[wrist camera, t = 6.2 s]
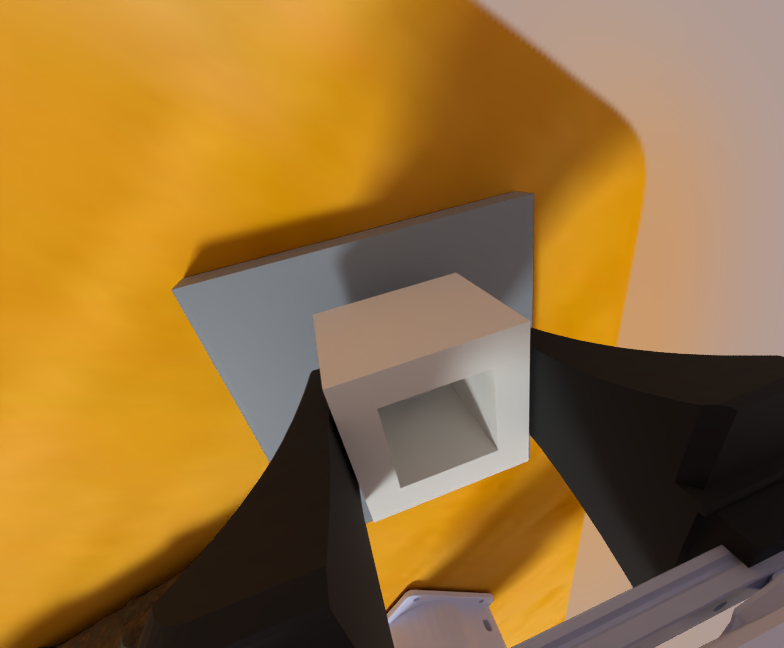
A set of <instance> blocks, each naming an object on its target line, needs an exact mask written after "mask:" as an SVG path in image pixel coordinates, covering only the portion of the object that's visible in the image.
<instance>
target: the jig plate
mask: <svg viewBox="0 0 784 648" xmlns="http://www.w3.org/2000/svg"><path fill="white" fill-rule="evenodd" d="M533 239H534V193H527V192H518V191H514V192H510V193H506V194H503V195H499V196H495V197H491V198H487V199H483V200H480V201H476V202H472V203H468V204H464V205H461V206H457V207H453V208H449V209H445V210H441V211H438V212H434V213H430V214H426V215H422V216H419V217H415V218H411V219H407V220H403V221H400V222H396V223H392V224H388V225H384V226H380V227H377V228H373V229H369V230H365V231H361V232H358V233H354V234H350V235H346V236H342V237H339V238H335V239H331V240H327V241H323V242H319V243H316V244H312V245H308V246H304V247H300V248H297V249H293V250H289V251H285V252H281V253H278V254H274V255H270V256H266V257H262V258H258V259H255V260H251V261H247V262H243V263H239V264H236V265H232V266H228V267H224V268H220V269H216V270H213V271H209V272H205V273H201V274H197V275H194V276H190V277H186V278H183V279H182V280H181V281H180V282H179V283H178V284H177V285H176V286H175V287H174V288H173V289H172V292H173V293H174V295H175V297H176V299H177V300H178V302H179V304H180V306H181V307H182V309H183V311H184V313H185V314H186V316H187V318H188V320H189V321H190V323H191V325H192V327H193V328H194V330H195V332H196V334H197V335H198V337H199V339H200V341H201V342H202V344H203V346H204V348H205V350H206V351H207V353H208V355H209V357H210V358H211V360H212V362H213V364H214V365H215V367H216V369H217V371H218V372H219V374H220V376H221V378H222V379H223V381H224V383H225V385H226V386H227V388H228V390H229V392H230V393H231V395H232V397H233V399H234V400H235V402H236V404H237V406H238V407H239V409H240V411H241V413H242V414H243V416H244V418H245V420H246V421H247V423H248V425H249V427H250V428H251V430H252V432H253V434H254V435H255V437H256V439H257V441H258V443H259V444H260V446H261V448H262V450H263V451H264V453H265V455H266V457H267V458H268V460H269V462H271V460H272V458H273V457H274V455H275V453H276V451H277V450H278V448H279V446H280V444H281V442H282V440H283V438H284V436H285V434H286V432H287V430H288V428H289V426H290V424H291V422H292V420H293V418H294V415H295V413H296V411H297V408H298V406H299V403H300V401H301V399H302V396H303V393H304V390H305V388H306V385H307V382H308V378H309V375H310V373H311V372H312V371H313V370H316V369H320V367H319V359H318V352H317V344H316V336H315V328H314V321H313V314H317V313H320V312H324V311H327V310H330V309H334V308H337V307H341V306H344V305H347V304H351V303H354V302H358V301H361V300H364V299H368V298H371V297H375V296H378V295H381V294H385V293H388V292H392V291H395V290H398V289H402V288H405V287H409V286H412V285H415V284H419V283H422V282H426V281H429V280H432V279H436V278H439V277H442V276H446V275H449V274H453V273H458V274H459V275H461V276H462V277H464V278H465V279H467V280H468V281H470V282H471V283H473V284H474V285H476V286H478V287H479V288H481V289H482V290H484V291H485V292H487V293H488V294H490V295H491V296H493V297H494V298H496V299H497V300H499V301H500V302H502V303H503V304H505V305H506V306H508V307H510V308H511V309H513V310H514V311H516V312H517V313H519V314H520V315H522V316H523V317H525V318H526V319H528V320H529V321H530V328H532V300H533ZM430 391H431V390H430ZM430 391H427V392H424V393H421V394H418V395H415V396H412V397H409V398H407V399H406V400H411V399H417V398H420V397H422V396H424V395H426V394H427V393H429V392H430ZM529 458H530V434H529ZM359 486H360V485H359ZM360 494H361V502H362V508H363V514H364V519H365V523H368V522H371V521H373V519H372V516H371V514H370V511H369V508H368V506H367V503H366V501H365V498H364V496H363V493H362V490H361V488H360Z"/></svg>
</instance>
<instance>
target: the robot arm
mask: <svg viewBox="0 0 784 648" xmlns="http://www.w3.org/2000/svg"><path fill="white" fill-rule="evenodd" d="M529 434H530V435H531V437H532V438H533V439H534V440H535V441H536V443H537V444H538V445H539V446H540V448H541V449H542V450H543V452H544V453H545V454H546V456H547V457H548V458H549V460H550V461H551V463H552V464H553V465H554V467H555V468H556V469H557V471H558V472H559V473H560V475H561V476H562V478H563V479H564V481H565V482H566V484H567V485H568V486H569V488H570V489H571V491H572V492H573V494H574V495H575V497H576V498H577V499H578V501H579V502H580V504H581V505H582V507H583V508H584V510H585V512H586V513H587V515H588V516H589V517H590V519H591V521H592V522H593V524H594V525H595V527H596V528H597V530H598V531H599V533H600V534H601V536H602V537H603V539H604V541H605V542H606V544H607V546H608V547H609V549H610V550H611V552H612V553H613V555H614V557H615V558H616V560H617V562H618V563H619V565H620V566H621V568H622V570H623V571H624V573H625V575H626V576H627V578H628V580H629V581H630V583H631V585H632V586H633V588H632V589H630V590H628V591H626V592H624V593H622V594H620V595H618V596H616V597H613V598H612V599H609V600H607V601H606V602H603V603H601V604H599V605H597V606H595V607H593V608H591V609H589V610H587V611H585V612H583V613H581V614H579V615H577V616H575V617H573V618H571V619H569V620H567V621H564V622H562V623H560V624H558V625H556V626H554V627H552V628H550V629H548V630H546V631H544V632H542V633H540V634H538V635H536V636H534V637H532V638H530V639H528V640H526V641H524V642H522V643H520V644H518V645H515V646H513V647H511V648H655V647H656V646H658V645H660V644H662V643H664V642H666V641H668V640H670V639H672V638H673V637H675V636H677V635H679V634H681V633H683V632H685V631H687V630H688V629H690V628H692V627H694V626H696V625H698V624H700V623H702V622H704V621H706V620H708V619H709V618H711V617H713V616H715V615H717V614H719V613H721V612H723V611H725V610H726V609H728V608H730V607H732V606H734V605H736V604H738V603H740V602H742V601H744V600H745V599H747V598H748V599H747V600H746V601H744V602H743V603H742V604H740V605H739V606H738V607H736V608H735V609H734V612H733V615H732V618H731V621H730V623H729V624H728V626H727V627H726V628H725V630H724V631H723V633H722V634H721V636H720V637H719V638H717V639H715V640H713V641H711V642H709V643H707V644H705V645H703V646H701V647H699V648H784V357H782V356H720V355H719V356H717V355H696V354H694V355H693V354H677V353H664V352H653V351H644V350H634V349H626V348H620V347H613V346H607V345H602V344H596V343H590V342H585V341H580V340H576V339H572V338H568V337H563V336H559V335H555V334H552V333H548V332H544V331H541V330H537V329H534V328H530V384H529ZM749 597H750V598H749ZM493 601H494V598H493V596H492V594H490V593H473V592H453V591H433V590H409V591H407V592H406V593H405V594H404V595H403V596H402V597H401V598H400V600H399V601H398V602H397V603H396V604H395V605H394V606H393V608H392V609H391V610H390V611H389V612H388V613H387V614H386V610H385V606H384V602H383V597H382V593H381V589H380V585H379V580H378V576H377V572H376V567H375V563H374V559H373V554H372V550H371V546H370V541H369V537H368V532H367V528H366V523H365V519H364V514H363V508H362V502H361V494H360V486H359V483H358V480H357V478H356V475H355V472H354V470H353V467H352V465H351V462H350V459H349V457H348V454H347V452H346V449H345V447H344V444H343V441H342V439H341V436H340V434H339V431H338V428H337V426H336V423H335V421H334V418H333V416H332V413H331V410H330V408H329V405H328V403H327V400H326V398H325V395H324V392H323V390H322V382H321V375H320V369H316V370H313V371H312V372H311V373H310V375H309V378H308V382H307V385H306V388H305V390H304V393H303V396H302V399H301V401H300V403H299V406H298V408H297V411H296V413H295V415H294V418H293V420H292V422H291V424H290V426H289V428H288V430H287V432H286V434H285V436H284V438H283V440H282V442H281V444H280V446H279V448H278V450H277V451H276V453H275V455H274V457H273V458H272V460H271V462H270V463H269V465H268V467H267V468H266V470H265V471H264V473H263V474H262V476H261V477H260V479H259V480H258V482H257V483H256V485H255V486H254V487H253V489H252V490H251V492H250V493H249V494H248V496H247V497H246V499H245V500H244V501H243V503H242V504H241V506H240V507H239V508H238V509H237V511H236V512H235V513H234V514H233V516H232V517H231V518H230V519H229V521H228V522H227V523H226V525H225V526H224V527H223V528H222V529H221V530H220V532H219V533H218V534H217V535H216V536H215V538H214V539H213V540H212V541H211V542H210V544H209V545H208V546H207V547H206V548H205V549H204V550H203V551H202V553H201V554H200V555H199V556H198V557H197V558H196V559H195V560H194V561H193V562H192V564H191V565H190V566H189V567H188V568H187V569H186V570H185V571H184V572H183V573H182V574H181V575H180V576H179V577H178V579H177V580H176V581H175V582H174V583H173V584H172V585H171V586H170V587H169V588H168V589H167V590H166V591H165V592H164V594H163V595H162V596H161V597H160V598H159V599H158V600H157V601H156V602H155V603H154V604H153V605H152V608H151V610H150V613H149V616H148V618H147V621H146V623H145V626H144V629H143V631H142V634H141V637H140V640H139V643H138V646H137V648H507V647H506V645H505V642H504V640H503V638H502V636H501V633H500V631H499V629H498V627H497V624H496V622H495V620H494V618H493V615H492V613H491V611H490V609H489V605H490V604H491V603H492V602H493Z"/></svg>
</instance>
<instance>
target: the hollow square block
mask: <svg viewBox="0 0 784 648" xmlns="http://www.w3.org/2000/svg"><path fill="white" fill-rule="evenodd" d="M313 321H314V328H315V336H316V344H317V352H318V359H319V367H320V375H321V382H322V390H323V392H324V395H325V398H326V400H327V403H328V405H329V408H330V410H331V413H332V416H333V418H334V421H335V423H336V426H337V428H338V431H339V434H340V436H341V439H342V441H343V444H344V447H345V449H346V452H347V454H348V457H349V459H350V462H351V465H352V467H353V470H354V472H355V475H356V478H357V480H358V483H359V485H360V488H361V490H362V493H363V496H364V498H365V501H366V503H367V506H368V508H369V511H370V514H371V516H372V519H373V521H374V522H377V521H379V520H382V519H384V518H387V517H389V516H392V515H394V514H397V513H399V512H402V511H404V510H407V509H409V508H412V507H414V506H417V505H419V504H422V503H424V502H427V501H429V500H432V499H434V498H437V497H439V496H442V495H444V494H447V493H449V492H452V491H454V490H457V489H459V488H462V487H464V486H467V485H469V484H472V483H474V482H477V481H479V480H482V479H484V478H487V477H489V476H492V475H494V474H497V473H499V472H502V471H504V470H507V469H509V468H512V467H514V466H517V465H519V464H522V463H524V462H527V461H528V460H529V384H530V321H529V320H528V319H526V318H525V317H523V316H522V315H520V314H519V313H517V312H516V311H514V310H513V309H511V308H510V307H508V306H506V305H505V304H503V303H502V302H500V301H499V300H497V299H496V298H494V297H493V296H491V295H490V294H488V293H487V292H485V291H484V290H482V289H481V288H479V287H478V286H476V285H474V284H473V283H471V282H470V281H468V280H467V279H465V278H464V277H462V276H461V275H459V274H458V273H453V274H449V275H446V276H442V277H439V278H436V279H432V280H429V281H426V282H422V283H419V284H415V285H412V286H409V287H405V288H402V289H398V290H395V291H392V292H388V293H385V294H381V295H378V296H375V297H371V298H368V299H364V300H361V301H358V302H354V303H351V304H347V305H344V306H341V307H337V308H334V309H330V310H327V311H324V312H320V313H317V314H313ZM430 390H431V391H430ZM427 391H430V392H429V393H427V394H426V395H424V396H422V397H420V398H417V399H411V400H406V399H407V398H409V397H412V396H415V395H418V394H421V393H424V392H427Z"/></svg>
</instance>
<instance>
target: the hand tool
mask: <svg viewBox="0 0 784 648" xmlns="http://www.w3.org/2000/svg"><path fill="white" fill-rule="evenodd" d="M185 570H186V569H185ZM185 570H184V571H185ZM184 571H182V572H181V573H179V574H177V575H176V576H174V577H173V578H171V579H169V580H168V581H166V582H164V583H163V584H161V585H159V586H158V587H156V588H154V589H153V590H151V591H149V592H148V593H146V594H144V595H141V596H139V597H137V598H135V599H131V600H129V602H128V603H127V604H126V605H125V607H123V608H121V609H119V610H118V611H116V612H114V613H112V614H110V615H108V616H106V617H104V618H103V619H102V620H100V621H99V622H98V623H96V624H95V625H93V626H91V627H90V628H88V629H86V630H85V631H83V632H81V633H79V634H78V635H76V636H75V637H73V638H71V639H70V640H68V641H67V642H65V643H63V644H62V645H60V646H58V647H39V648H137V646H138V643H139V640H140V637H141V634H142V631H143V629H144V626H145V623H146V621H147V618H148V616H149V613H150V610H151V608H152V605H153V604H154V603H155V602H156V601H157V600H158V599H159V598H160V597H161V596H162V595H163V594H164V592H165V591H166V590H167V589H168V588H169V587H170V586H171V585H172V584H173V583H174V582H175V581H176V580H177V579H178V577H179V576H180V575H181V574H182V573H183V572H184Z"/></svg>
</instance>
